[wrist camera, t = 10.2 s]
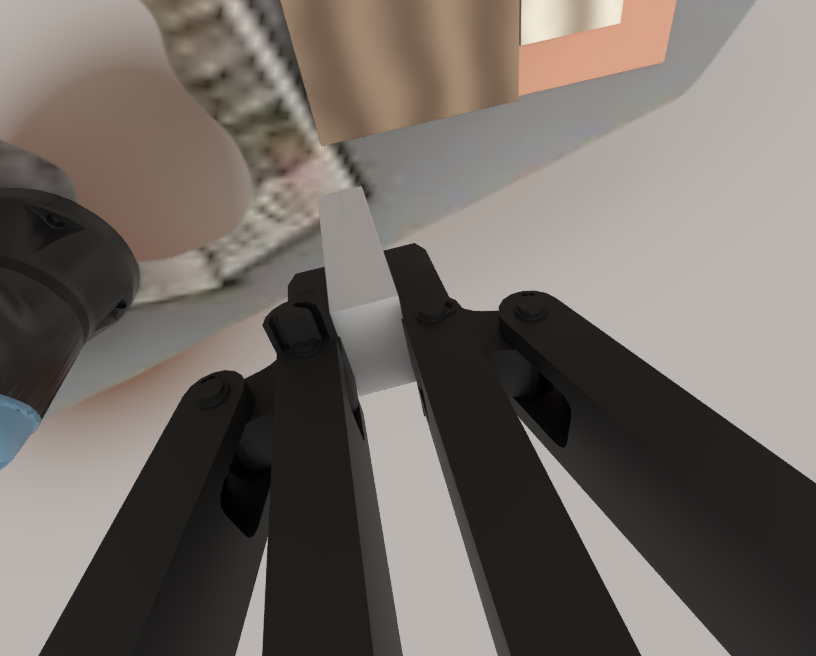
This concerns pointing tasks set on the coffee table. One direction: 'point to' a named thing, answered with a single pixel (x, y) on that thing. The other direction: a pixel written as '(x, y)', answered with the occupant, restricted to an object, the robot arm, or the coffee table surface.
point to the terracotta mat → (599, 48)
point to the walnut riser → (402, 60)
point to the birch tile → (564, 17)
